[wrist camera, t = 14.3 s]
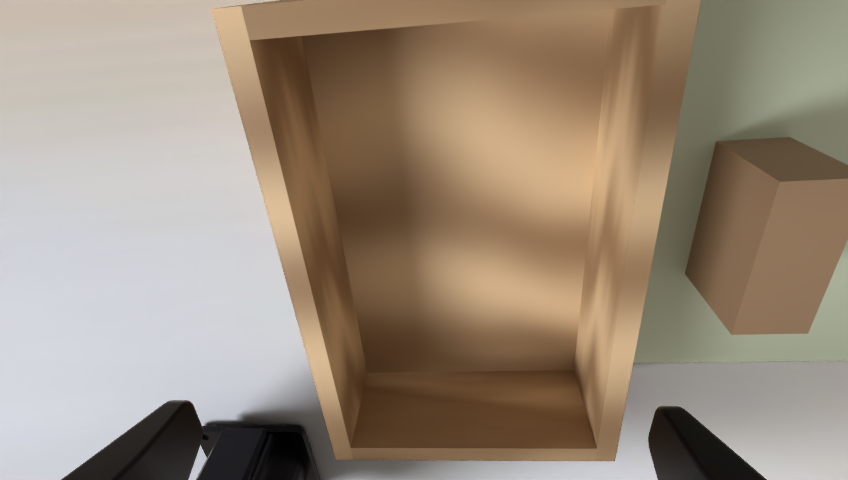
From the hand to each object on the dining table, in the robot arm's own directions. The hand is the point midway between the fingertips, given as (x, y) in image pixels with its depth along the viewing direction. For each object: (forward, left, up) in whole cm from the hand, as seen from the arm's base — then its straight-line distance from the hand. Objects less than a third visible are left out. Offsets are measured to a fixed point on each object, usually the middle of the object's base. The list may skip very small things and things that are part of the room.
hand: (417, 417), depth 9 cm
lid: (-1, -15, -12) cm, 20 cm away
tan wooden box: (+1, -1, -12) cm, 12 cm away
